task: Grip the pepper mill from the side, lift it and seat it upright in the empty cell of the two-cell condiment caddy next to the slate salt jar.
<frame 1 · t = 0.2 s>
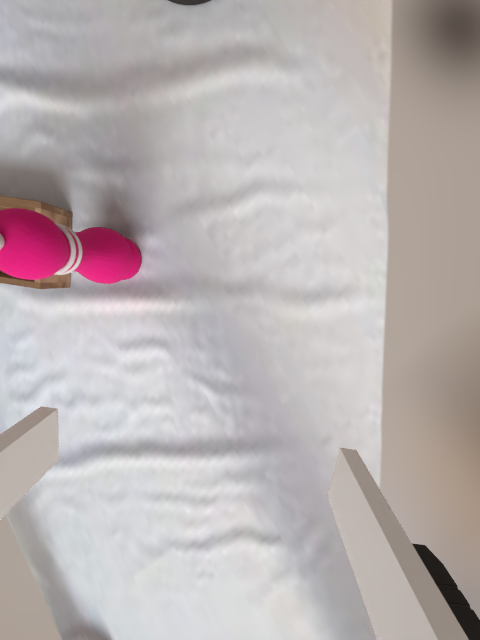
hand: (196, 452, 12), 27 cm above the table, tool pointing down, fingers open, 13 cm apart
pepper mill: (122, 258, 38), on the table
caddy: (3, 240, 38), on the table
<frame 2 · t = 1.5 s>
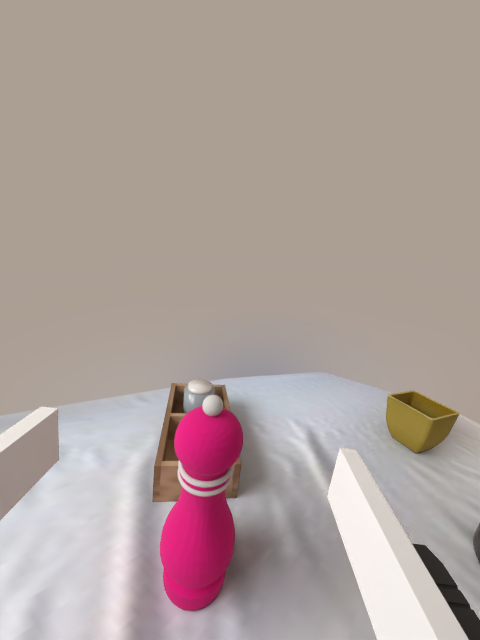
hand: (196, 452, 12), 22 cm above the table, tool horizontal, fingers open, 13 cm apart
salt jar: (197, 419, 48), point 1 cm above the table, touching caddy
flower pot: (409, 443, 51), on the table
pepper mill: (194, 571, 26), on the table
caddy: (196, 442, 43), on the table
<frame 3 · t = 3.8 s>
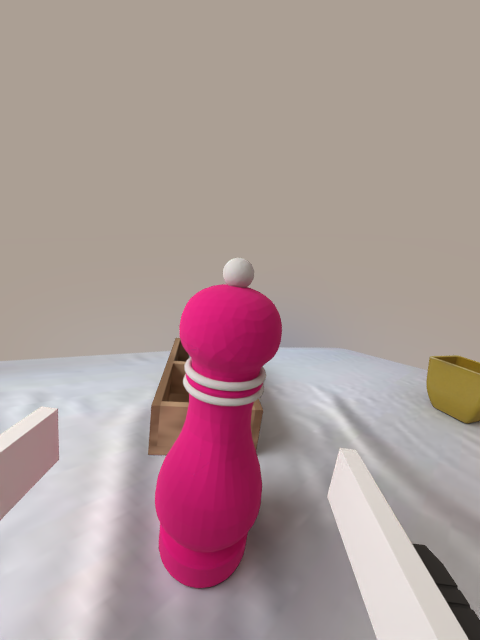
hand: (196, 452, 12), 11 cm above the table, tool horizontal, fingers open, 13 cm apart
flower pot: (455, 414, 43), on the table
pepper mill: (202, 537, 18), on the table
caddy: (203, 399, 36), on the table
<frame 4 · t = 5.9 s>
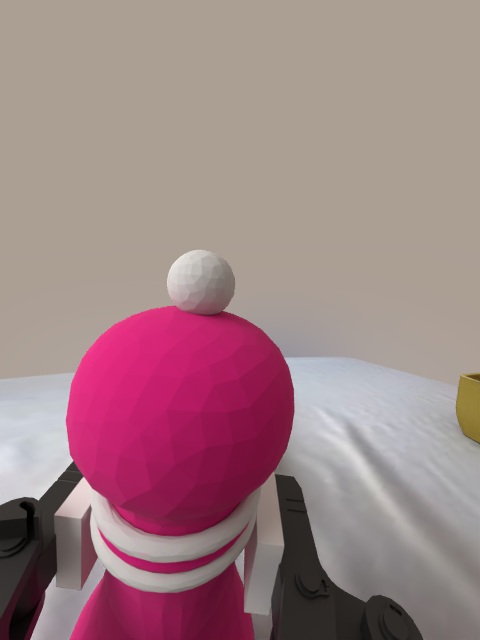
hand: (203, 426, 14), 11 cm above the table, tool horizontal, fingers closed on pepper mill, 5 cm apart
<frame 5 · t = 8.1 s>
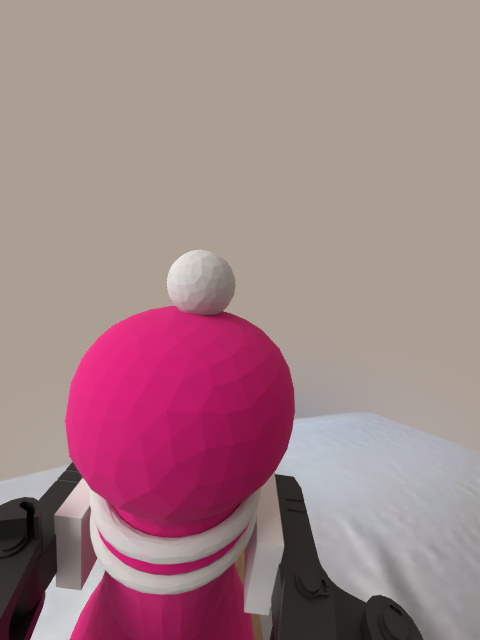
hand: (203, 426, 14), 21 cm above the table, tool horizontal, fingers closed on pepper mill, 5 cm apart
caddy: (179, 598, 22), on the table
when the fingers open (13 cm above the table, at t = 10.6 s): pepper mill drops 1 cm, resting on caddy.
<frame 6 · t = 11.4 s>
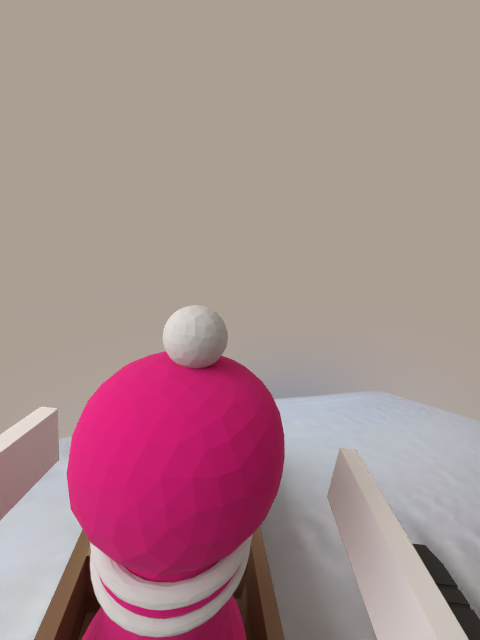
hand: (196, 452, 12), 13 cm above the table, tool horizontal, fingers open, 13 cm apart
caddy: (167, 608, 16), on the table
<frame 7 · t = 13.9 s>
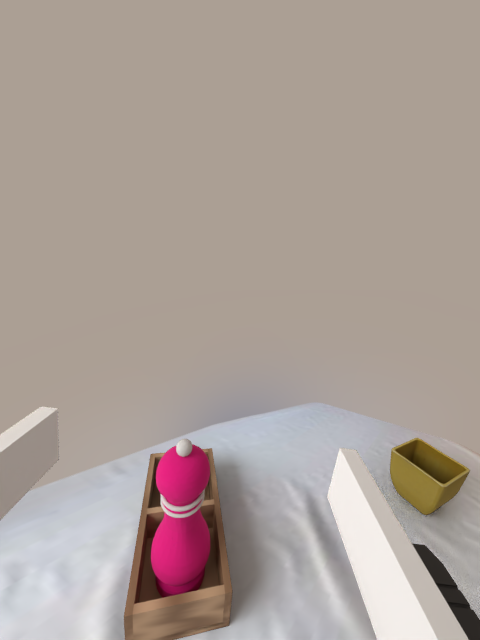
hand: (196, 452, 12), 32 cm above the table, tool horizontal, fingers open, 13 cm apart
flower pot: (416, 499, 47), on the table
pepper mill: (180, 572, 32), point 1 cm above the table, touching caddy
caddy: (180, 535, 37), on the table
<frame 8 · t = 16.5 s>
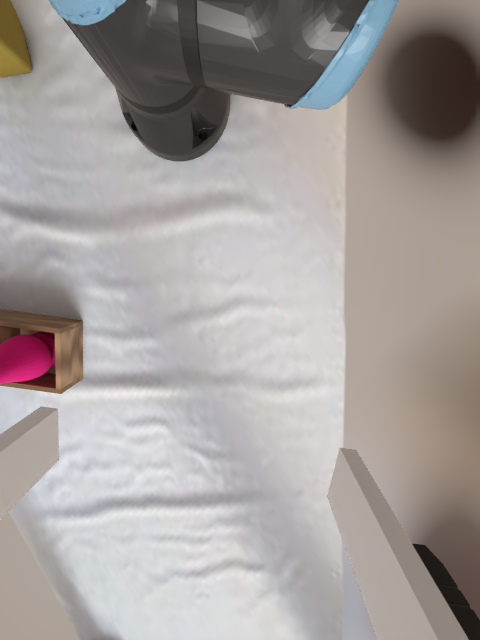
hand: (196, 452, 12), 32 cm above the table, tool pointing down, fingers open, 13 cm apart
flower pot: (13, 56, 36), on the table
pepper mill: (48, 347, 44), point 1 cm above the table, touching caddy
caddy: (23, 342, 45), on the table
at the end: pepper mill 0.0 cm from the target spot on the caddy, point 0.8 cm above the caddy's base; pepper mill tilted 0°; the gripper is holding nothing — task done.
